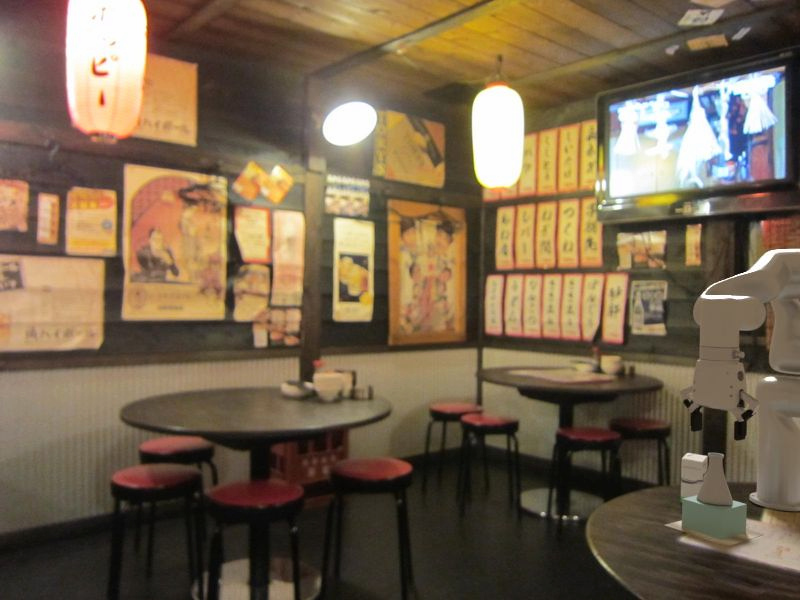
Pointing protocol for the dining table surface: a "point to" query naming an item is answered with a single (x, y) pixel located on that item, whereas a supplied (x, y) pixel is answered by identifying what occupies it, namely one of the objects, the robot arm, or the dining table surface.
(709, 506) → the teal block
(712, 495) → the flask
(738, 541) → the base board
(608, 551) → the dining table surface
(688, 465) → the ink box
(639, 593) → the dining table surface
